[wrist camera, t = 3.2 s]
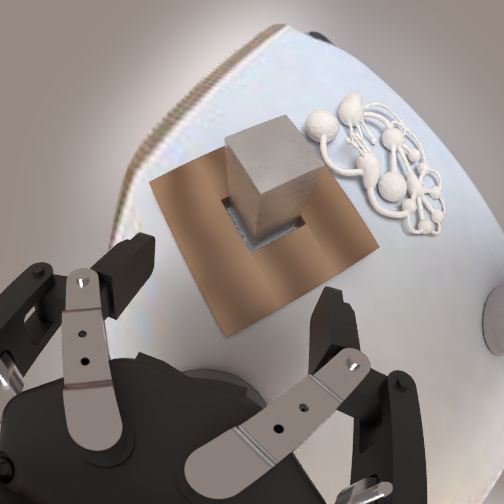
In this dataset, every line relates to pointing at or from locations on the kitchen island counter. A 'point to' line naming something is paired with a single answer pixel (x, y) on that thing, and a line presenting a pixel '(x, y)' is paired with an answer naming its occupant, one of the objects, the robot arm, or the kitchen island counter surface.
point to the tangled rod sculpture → (391, 183)
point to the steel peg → (269, 179)
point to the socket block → (266, 258)
